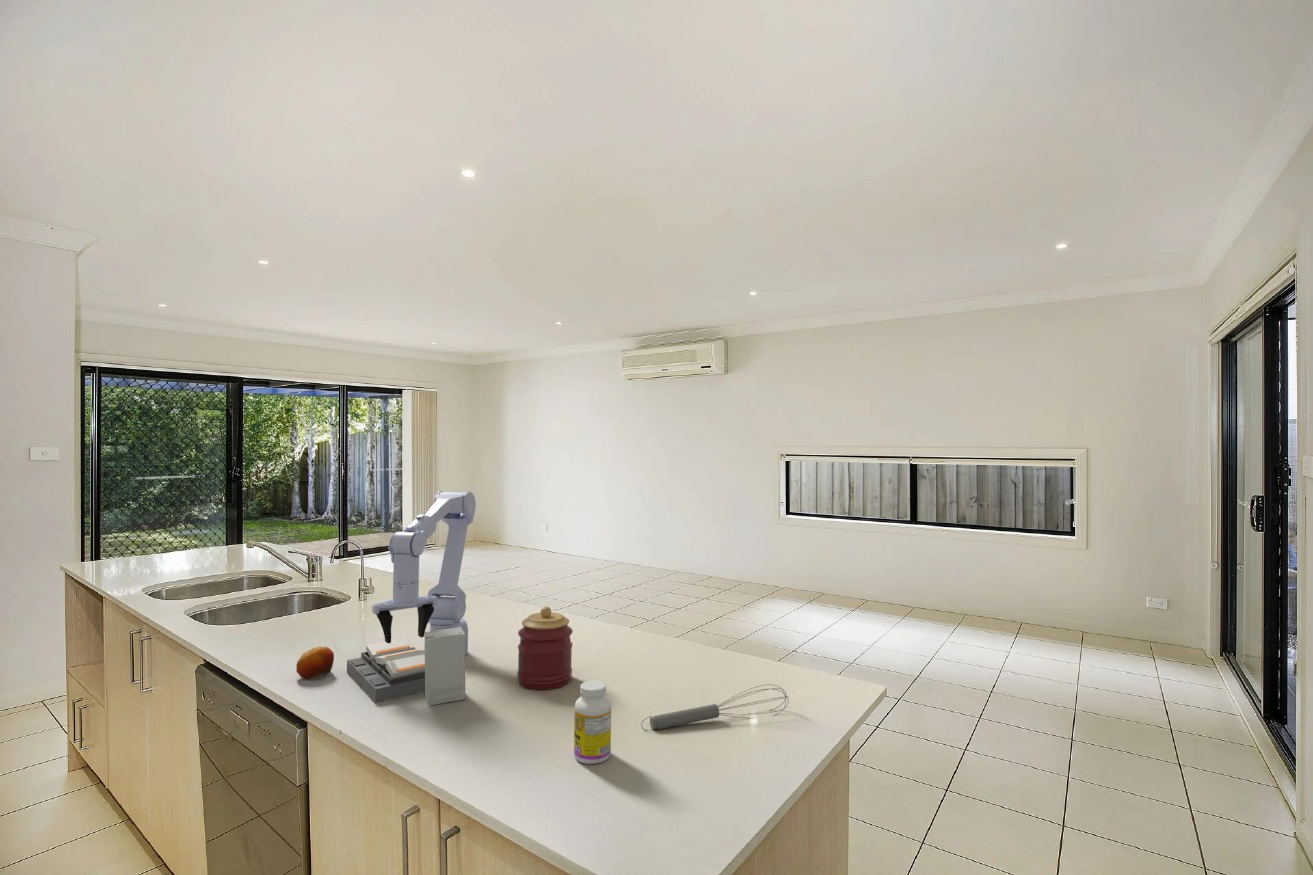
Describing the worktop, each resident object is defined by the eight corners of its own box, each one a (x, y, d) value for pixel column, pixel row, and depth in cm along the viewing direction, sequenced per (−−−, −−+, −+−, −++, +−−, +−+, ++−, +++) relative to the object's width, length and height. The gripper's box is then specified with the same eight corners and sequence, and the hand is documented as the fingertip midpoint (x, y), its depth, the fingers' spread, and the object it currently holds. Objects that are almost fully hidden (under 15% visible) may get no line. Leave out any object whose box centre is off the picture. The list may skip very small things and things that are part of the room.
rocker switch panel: (403, 655, 165) (404, 639, 165) (443, 686, 143) (443, 668, 143) (342, 667, 155) (343, 650, 155) (375, 702, 134) (375, 683, 134)
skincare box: (461, 691, 141) (463, 625, 141) (465, 700, 136) (467, 632, 136) (422, 697, 137) (424, 630, 138) (425, 707, 132) (426, 637, 132)
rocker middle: (417, 654, 154) (417, 648, 154) (425, 655, 150) (425, 649, 150) (375, 663, 148) (375, 656, 148) (382, 664, 143) (382, 657, 144)
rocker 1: (406, 642, 160) (407, 636, 160) (414, 652, 156) (414, 646, 156) (365, 649, 154) (366, 643, 154) (372, 660, 150) (372, 654, 149)
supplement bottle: (574, 748, 114) (575, 678, 115) (610, 747, 115) (611, 677, 115) (572, 766, 108) (574, 692, 108) (610, 765, 108) (611, 691, 109)
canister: (582, 676, 151) (583, 604, 152) (551, 694, 140) (553, 616, 140) (538, 667, 157) (539, 598, 157) (505, 684, 145) (507, 609, 145)
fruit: (324, 677, 144) (310, 646, 145) (299, 692, 146) (285, 662, 147) (348, 666, 152) (334, 637, 153) (324, 680, 153) (310, 651, 154)
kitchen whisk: (636, 725, 125) (637, 694, 125) (779, 707, 135) (780, 679, 135) (645, 738, 119) (646, 706, 119) (794, 718, 129) (794, 689, 130)
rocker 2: (429, 658, 148) (429, 652, 148) (437, 669, 144) (438, 663, 144) (385, 667, 142) (386, 660, 141) (392, 679, 137) (393, 672, 137)
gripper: (379, 588, 139) (377, 649, 139) (442, 580, 149) (441, 637, 148) (370, 583, 145) (368, 641, 145) (431, 576, 154) (430, 630, 154)
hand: (404, 639), depth 147 cm, fingers open, 7 cm apart
